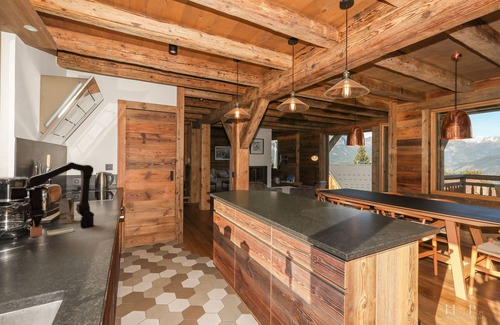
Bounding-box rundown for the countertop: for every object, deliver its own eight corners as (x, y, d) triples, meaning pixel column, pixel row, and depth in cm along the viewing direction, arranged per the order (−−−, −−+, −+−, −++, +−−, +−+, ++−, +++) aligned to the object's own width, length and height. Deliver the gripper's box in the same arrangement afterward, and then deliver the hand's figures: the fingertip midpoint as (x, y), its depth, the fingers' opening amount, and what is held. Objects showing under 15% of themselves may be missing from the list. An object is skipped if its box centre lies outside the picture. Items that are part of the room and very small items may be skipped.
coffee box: (71, 223, 160) (70, 199, 160) (59, 224, 158) (58, 200, 157) (74, 220, 169) (74, 197, 168) (63, 221, 166) (63, 198, 166)
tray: (72, 229, 147) (72, 227, 147) (74, 232, 141) (74, 230, 141) (46, 233, 139) (46, 231, 139) (47, 237, 133) (47, 234, 133)
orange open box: (42, 233, 138) (41, 225, 138) (42, 235, 135) (42, 227, 135) (30, 235, 135) (30, 226, 135) (30, 237, 131) (30, 228, 131)
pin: (39, 233, 137) (38, 218, 136) (39, 234, 135) (39, 219, 135) (33, 234, 135) (33, 219, 135) (33, 235, 133) (33, 219, 133)
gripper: (16, 197, 136) (16, 225, 136) (15, 202, 122) (16, 232, 122) (42, 195, 143) (42, 221, 144) (44, 199, 130) (44, 227, 130)
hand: (36, 225), depth 135 cm, fingers open, 9 cm apart
